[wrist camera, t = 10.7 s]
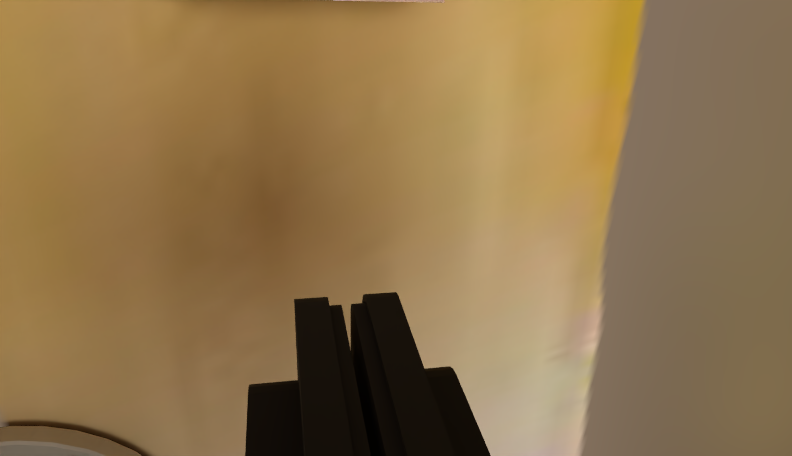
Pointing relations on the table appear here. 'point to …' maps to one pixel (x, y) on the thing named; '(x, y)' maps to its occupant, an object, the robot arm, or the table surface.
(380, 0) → the tray
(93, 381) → the table surface
